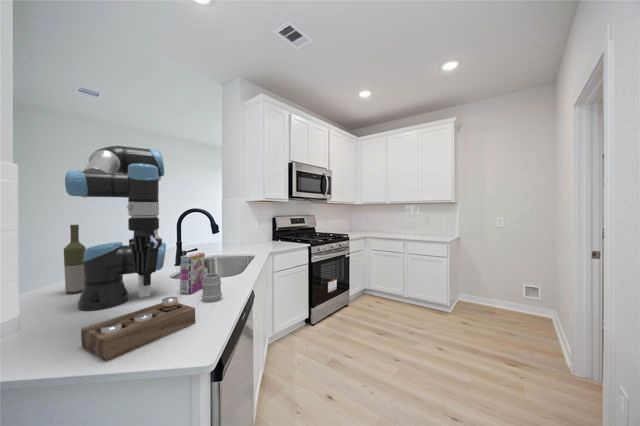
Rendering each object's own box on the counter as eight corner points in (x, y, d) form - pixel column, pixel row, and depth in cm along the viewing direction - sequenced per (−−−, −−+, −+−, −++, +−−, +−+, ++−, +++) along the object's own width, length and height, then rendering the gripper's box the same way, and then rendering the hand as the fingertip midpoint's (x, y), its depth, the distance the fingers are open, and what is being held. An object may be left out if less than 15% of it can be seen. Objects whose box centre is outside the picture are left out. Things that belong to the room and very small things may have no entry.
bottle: (63, 292, 114) (62, 224, 113) (84, 288, 119) (83, 224, 119) (65, 296, 109) (64, 225, 109) (87, 292, 115) (86, 224, 114)
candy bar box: (190, 294, 111) (190, 257, 111) (179, 294, 112) (179, 256, 112) (205, 287, 122) (205, 252, 122) (195, 286, 123) (195, 252, 123)
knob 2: (131, 333, 76) (131, 316, 76) (147, 327, 80) (147, 311, 80) (139, 337, 74) (139, 320, 74) (155, 330, 78) (155, 314, 78)
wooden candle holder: (81, 346, 70) (81, 328, 69) (169, 314, 91) (169, 300, 90) (106, 361, 63) (105, 341, 63) (195, 323, 84) (195, 307, 84)
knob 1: (97, 346, 69) (97, 327, 69) (117, 339, 73) (117, 321, 73) (105, 351, 67) (105, 331, 67) (125, 343, 71) (125, 325, 70)
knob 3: (159, 315, 83) (158, 299, 83) (172, 310, 87) (172, 295, 87) (167, 318, 81) (167, 302, 81) (181, 313, 85) (180, 297, 84)
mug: (206, 304, 101) (206, 273, 100) (194, 297, 108) (194, 268, 108) (225, 299, 106) (225, 270, 106) (212, 292, 114) (211, 265, 114)
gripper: (118, 216, 76) (119, 295, 77) (141, 217, 70) (142, 303, 70) (145, 216, 83) (146, 288, 83) (169, 216, 77) (170, 295, 77)
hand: (144, 295), depth 77 cm, fingers closed
